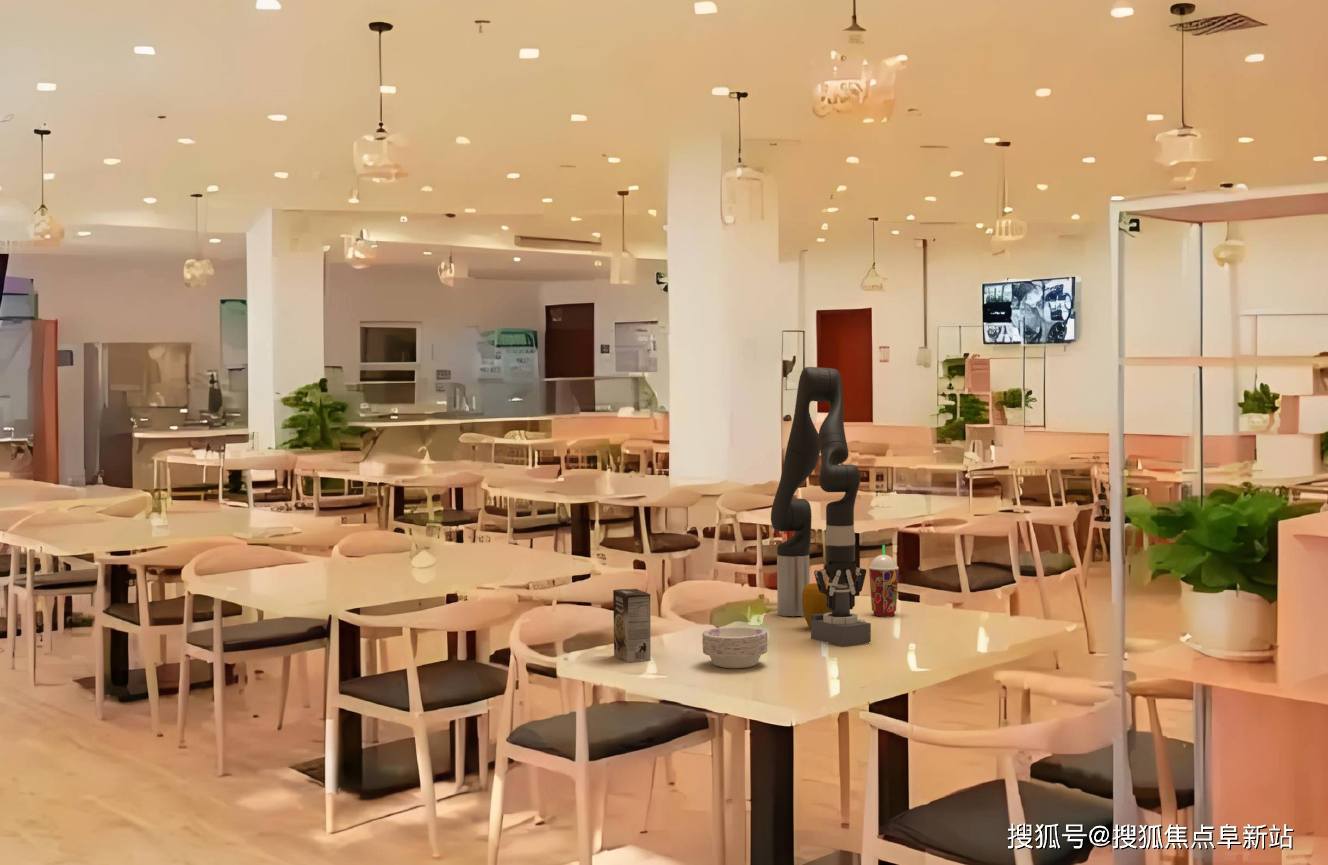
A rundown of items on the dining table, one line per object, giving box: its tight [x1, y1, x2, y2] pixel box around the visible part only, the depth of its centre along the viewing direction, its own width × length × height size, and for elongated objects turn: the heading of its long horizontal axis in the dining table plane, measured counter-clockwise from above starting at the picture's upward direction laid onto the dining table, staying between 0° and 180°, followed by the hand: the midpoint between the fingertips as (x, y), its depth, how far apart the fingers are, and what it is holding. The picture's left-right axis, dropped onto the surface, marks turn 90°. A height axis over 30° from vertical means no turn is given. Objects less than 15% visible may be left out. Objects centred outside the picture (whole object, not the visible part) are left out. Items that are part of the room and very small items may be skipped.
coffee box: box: [612, 588, 652, 663], centre depth 305 cm, size 9×6×16 cm
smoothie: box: [868, 544, 900, 617], centre depth 361 cm, size 8×8×20 cm
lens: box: [832, 584, 851, 617], centre depth 324 cm, size 5×5×8 cm
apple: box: [802, 582, 832, 629], centre depth 341 cm, size 11×11×13 cm
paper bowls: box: [702, 626, 768, 669], centre depth 296 cm, size 15×15×8 cm
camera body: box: [810, 612, 872, 648], centre depth 324 cm, size 13×9×7 cm
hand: (840, 609), depth 324 cm, fingers closed on lens, 4 cm apart
